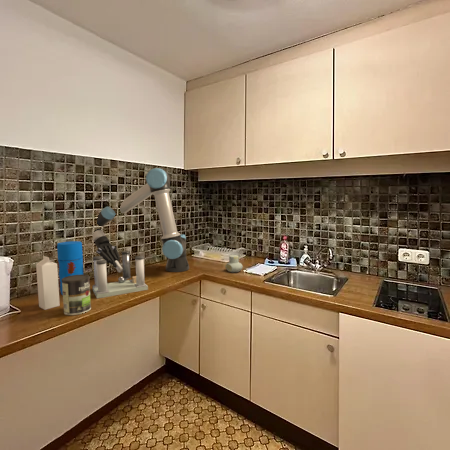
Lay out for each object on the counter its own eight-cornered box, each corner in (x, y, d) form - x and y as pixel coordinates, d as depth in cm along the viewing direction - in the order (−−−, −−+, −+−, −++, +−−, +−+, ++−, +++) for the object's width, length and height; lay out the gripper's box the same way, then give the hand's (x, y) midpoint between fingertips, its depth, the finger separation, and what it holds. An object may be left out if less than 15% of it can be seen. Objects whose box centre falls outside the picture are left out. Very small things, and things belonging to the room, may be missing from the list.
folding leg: (124, 276, 161) (123, 250, 160) (132, 277, 161) (131, 250, 159) (116, 282, 150) (115, 254, 149) (124, 282, 150) (123, 254, 149)
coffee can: (96, 306, 123) (94, 274, 122) (79, 316, 113) (77, 281, 112) (75, 305, 125) (73, 273, 124) (57, 314, 115) (55, 280, 114)
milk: (53, 302, 128) (50, 254, 126) (59, 305, 125) (57, 256, 123) (38, 307, 123) (35, 256, 122) (44, 310, 120) (41, 258, 118)
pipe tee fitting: (244, 272, 179) (244, 256, 178) (234, 274, 174) (233, 258, 173) (233, 268, 188) (233, 253, 187) (223, 270, 183) (223, 255, 182)
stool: (139, 281, 160) (138, 251, 158) (147, 289, 146) (146, 256, 144) (92, 289, 147) (90, 256, 145) (97, 298, 133) (95, 262, 132)
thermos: (60, 297, 136) (57, 245, 133) (59, 291, 145) (56, 242, 142) (85, 293, 141) (83, 243, 139) (83, 287, 150) (80, 240, 148)
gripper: (107, 242, 174) (127, 272, 168) (87, 245, 163) (108, 277, 156) (112, 234, 171) (133, 264, 164) (92, 236, 160) (114, 269, 153)
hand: (120, 270), depth 160 cm, fingers closed
